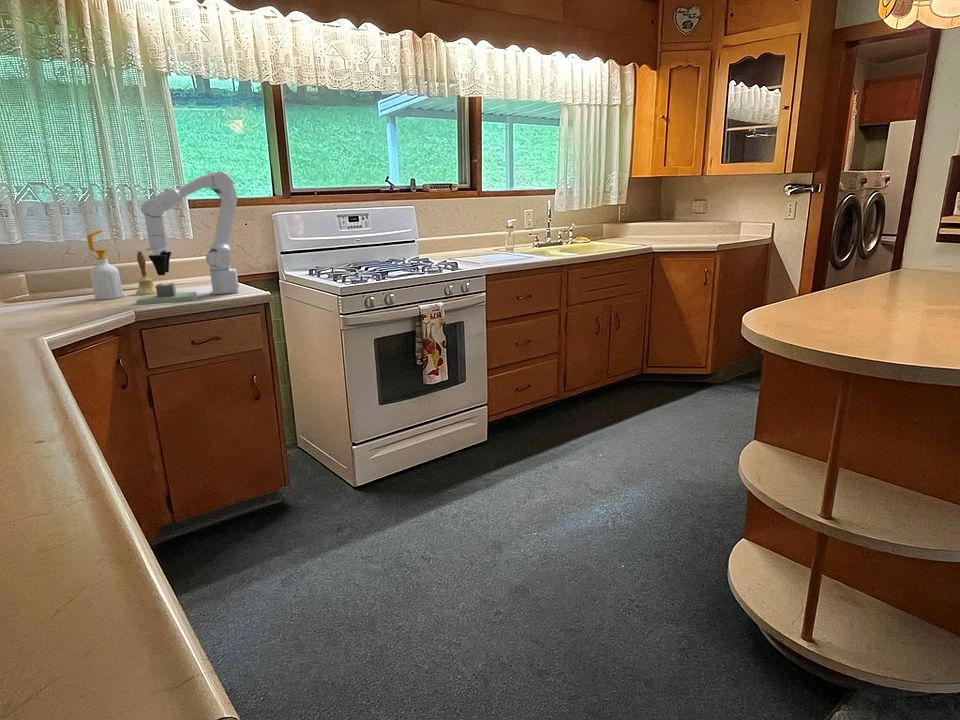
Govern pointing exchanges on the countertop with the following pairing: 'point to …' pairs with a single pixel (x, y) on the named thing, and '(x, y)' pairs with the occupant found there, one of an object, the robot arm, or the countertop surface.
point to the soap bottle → (104, 275)
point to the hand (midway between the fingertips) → (163, 273)
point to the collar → (166, 290)
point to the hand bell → (144, 278)
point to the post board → (178, 297)
